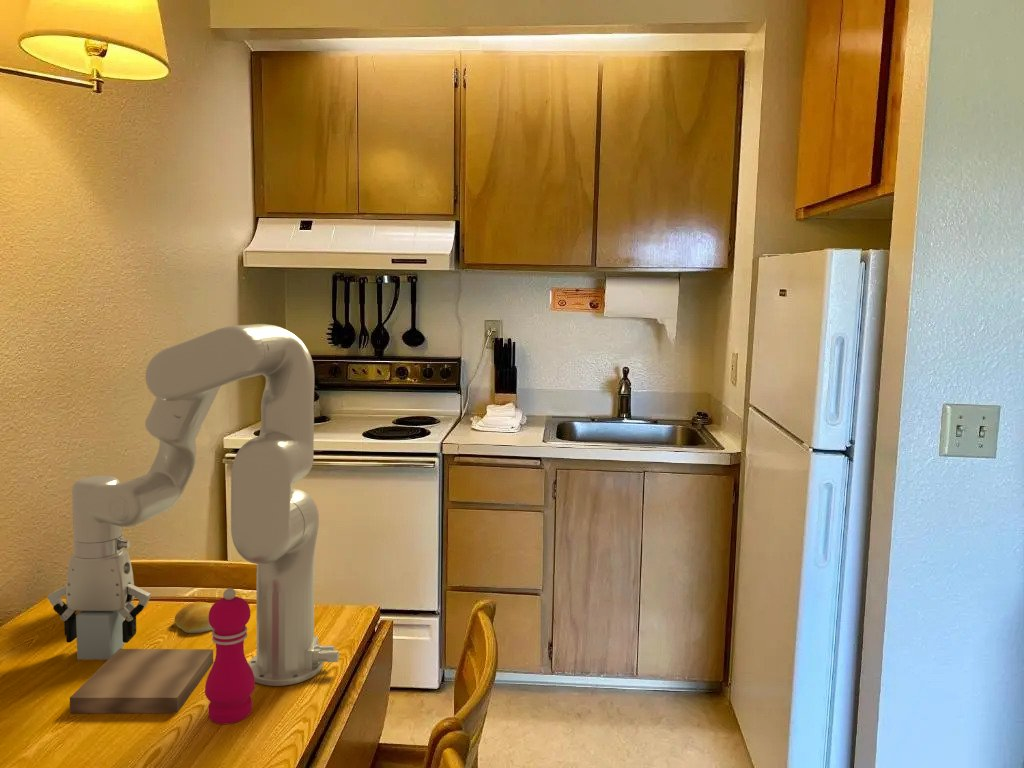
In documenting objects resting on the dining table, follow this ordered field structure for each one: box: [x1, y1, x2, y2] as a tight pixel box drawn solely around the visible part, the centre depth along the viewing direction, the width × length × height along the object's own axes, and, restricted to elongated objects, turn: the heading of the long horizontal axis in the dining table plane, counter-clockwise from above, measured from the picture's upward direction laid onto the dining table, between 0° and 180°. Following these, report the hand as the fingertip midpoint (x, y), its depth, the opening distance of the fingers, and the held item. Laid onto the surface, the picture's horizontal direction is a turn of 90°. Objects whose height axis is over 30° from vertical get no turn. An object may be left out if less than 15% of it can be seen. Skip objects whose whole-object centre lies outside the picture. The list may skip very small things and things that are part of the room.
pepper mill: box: [204, 587, 256, 725], centre depth 113 cm, size 7×7×20 cm
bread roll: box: [174, 601, 214, 634], centre depth 144 cm, size 8×9×4 cm
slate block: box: [76, 611, 125, 660], centre depth 132 cm, size 6×6×8 cm
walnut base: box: [69, 648, 214, 714], centre depth 121 cm, size 16×16×2 cm
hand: (101, 639), depth 132 cm, fingers open, 9 cm apart
